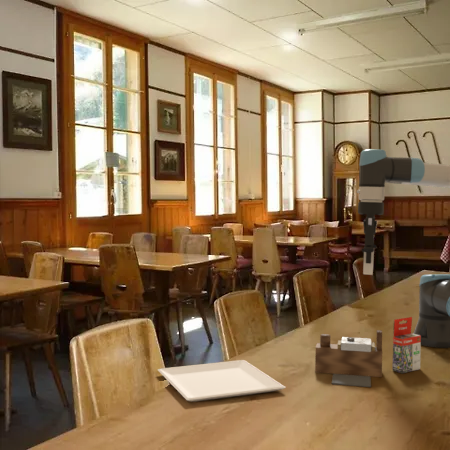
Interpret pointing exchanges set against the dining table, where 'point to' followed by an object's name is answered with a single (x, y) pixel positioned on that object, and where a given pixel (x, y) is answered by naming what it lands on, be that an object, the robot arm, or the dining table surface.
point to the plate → (219, 380)
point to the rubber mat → (351, 380)
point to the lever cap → (356, 344)
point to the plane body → (348, 358)
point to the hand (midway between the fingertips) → (368, 271)
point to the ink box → (405, 347)
